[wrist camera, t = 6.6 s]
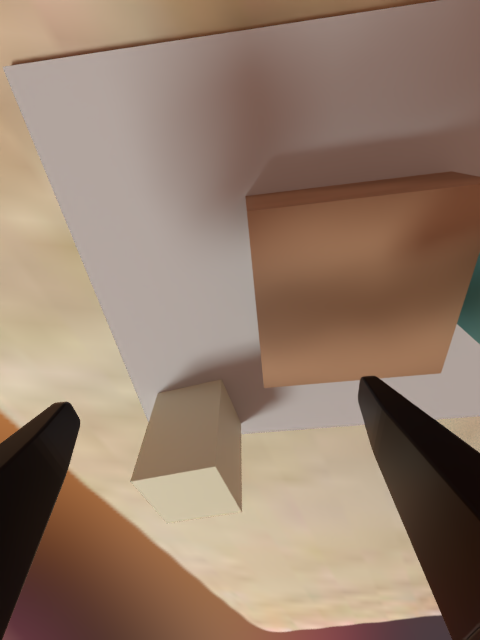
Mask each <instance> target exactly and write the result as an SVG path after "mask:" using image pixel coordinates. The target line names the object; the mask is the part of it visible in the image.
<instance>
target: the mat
mask: <svg viewBox="0 0 480 640" xmlns="http://www.w3.org/2000/svg"><path fill="white" fill-rule="evenodd" d="M3 69H4V72H5V74H6V77H7V79H8V82H9V84H10V87H11V89H12V91H13V94H14V96H15V99H16V101H17V104H18V106H19V108H20V111H21V113H22V116H23V118H24V121H25V123H26V125H27V128H28V130H29V133H30V135H31V138H32V140H33V142H34V145H35V147H36V150H37V152H38V155H39V157H40V160H41V162H42V164H43V167H44V169H45V172H46V174H47V177H48V179H49V181H50V184H51V186H52V189H53V191H54V194H55V196H56V198H57V201H58V203H59V206H60V208H61V211H62V213H63V216H64V218H65V220H66V223H67V225H68V228H69V230H70V233H71V235H72V237H73V240H74V242H75V245H76V247H77V250H78V252H79V254H80V257H81V259H82V262H83V264H84V267H85V269H86V271H87V274H88V276H89V279H90V281H91V284H92V286H93V289H94V291H95V293H96V296H97V298H98V301H99V303H100V306H101V308H102V310H103V313H104V315H105V318H106V320H107V323H108V325H109V327H110V330H111V332H112V335H113V337H114V340H115V342H116V345H117V347H118V349H119V352H120V354H121V357H122V359H123V362H124V364H125V366H126V369H127V371H128V374H129V376H130V379H131V381H132V383H133V386H134V388H135V391H136V393H137V396H138V398H139V401H140V403H141V405H142V408H143V410H144V413H145V415H146V418H147V420H148V422H149V420H150V416H151V413H152V410H153V407H154V403H155V400H156V397H157V394H158V393H162V392H166V391H171V390H175V389H180V388H184V387H189V386H193V385H198V384H202V383H207V382H211V381H216V380H220V379H222V381H223V384H224V386H225V388H226V390H227V393H228V395H229V397H230V399H231V402H232V404H233V406H234V409H235V411H236V413H237V415H238V418H239V420H240V422H241V434H248V433H262V432H275V431H288V430H302V429H315V428H328V427H342V426H355V425H365V423H364V420H363V417H362V413H361V410H360V407H359V403H358V390H359V383H360V380H355V381H343V382H331V383H319V384H307V385H295V386H283V387H271V388H264V383H263V373H262V362H261V352H260V342H259V332H258V321H257V311H256V301H255V290H254V280H253V270H252V260H251V249H250V239H249V229H248V219H247V208H246V197H245V196H250V195H259V194H267V193H275V192H283V191H292V190H300V189H308V188H317V187H325V186H333V185H342V184H350V183H358V182H367V181H375V180H383V179H391V178H400V177H408V176H416V175H425V174H433V173H441V172H450V171H453V172H458V173H463V174H468V175H473V176H478V177H480V0H439V1H432V2H426V3H419V4H413V5H406V6H399V7H393V8H386V9H380V10H373V11H367V12H360V13H353V14H347V15H340V16H334V17H327V18H321V19H314V20H307V21H301V22H294V23H288V24H281V25H275V26H268V27H261V28H255V29H248V30H242V31H235V32H229V33H222V34H215V35H209V36H202V37H196V38H189V39H183V40H176V41H169V42H163V43H156V44H150V45H143V46H137V47H130V48H123V49H117V50H110V51H104V52H97V53H91V54H84V55H77V56H71V57H64V58H58V59H51V60H45V61H38V62H31V63H25V64H18V65H12V66H5V67H3ZM379 379H381V380H382V381H384V382H385V383H386V384H388V385H389V386H390V387H392V388H393V389H394V390H396V391H397V392H398V393H400V394H401V395H402V396H404V397H405V398H406V399H408V400H409V401H410V402H412V403H413V404H414V405H416V406H417V407H419V408H420V409H421V410H423V411H424V412H425V413H427V414H428V415H429V416H431V417H432V418H433V419H448V418H462V417H475V416H480V344H479V343H478V342H477V341H475V340H474V339H473V338H472V337H471V336H470V335H469V334H468V333H466V332H465V331H464V330H463V329H462V328H461V327H460V326H459V325H458V324H457V325H456V328H455V331H454V334H453V337H452V340H451V344H450V347H449V350H448V353H447V356H446V359H445V362H444V365H443V369H442V372H441V373H439V374H427V375H415V376H403V377H391V378H379Z"/></svg>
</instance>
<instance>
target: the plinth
mask: <svg viewBox="0 0 480 640" xmlns="http://www.w3.org/2000/svg"><path fill="white" fill-rule="evenodd" d="M245 197H246V208H247V219H248V229H249V239H250V249H251V260H252V270H253V280H254V290H255V301H256V311H257V321H258V332H259V342H260V352H261V362H262V373H263V383H264V388H271V387H283V386H295V385H307V384H319V383H331V382H343V381H355V380H360V379H361V377H363V376H377V377H378V378H391V377H403V376H415V375H427V374H439V373H441V372H442V369H443V365H444V362H445V359H446V356H447V353H448V350H449V347H450V344H451V340H452V337H453V334H454V331H455V328H456V325H457V322H458V319H459V315H460V312H461V309H462V306H463V303H464V300H465V297H466V294H467V290H468V287H469V284H470V281H471V278H472V275H473V272H474V269H475V265H476V262H477V259H478V256H479V253H480V177H478V176H473V175H468V174H463V173H458V172H453V171H450V172H441V173H433V174H425V175H416V176H408V177H400V178H391V179H383V180H375V181H367V182H358V183H350V184H342V185H333V186H325V187H317V188H308V189H300V190H292V191H283V192H275V193H267V194H259V195H250V196H245Z"/></svg>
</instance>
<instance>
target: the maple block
mask: <svg viewBox="0 0 480 640" xmlns="http://www.w3.org/2000/svg"><path fill="white" fill-rule="evenodd" d="M457 324H458V325H459V326H460V327H461V328H462V329H463V330H464V331H465V332H466V333H468V334H469V335H470V336H471V337H472V338H473V339H474V340H475V341H477V342H478V343H479V344H480V253H479V256H478V259H477V262H476V265H475V269H474V272H473V275H472V278H471V281H470V284H469V287H468V290H467V294H466V297H465V300H464V303H463V306H462V309H461V312H460V315H459V319H458V322H457Z"/></svg>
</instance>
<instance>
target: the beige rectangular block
mask: <svg viewBox="0 0 480 640" xmlns="http://www.w3.org/2000/svg"><path fill="white" fill-rule="evenodd" d="M130 482H131V483H132V484H133V485H134V486H135V488H136V489H137V490H138V491H139V492H140V493H141V495H142V496H143V497H144V498H145V499H146V500H147V501H148V503H149V504H150V505H151V506H152V507H153V508H154V509H155V511H156V512H157V513H158V514H159V515H160V516H161V518H162V519H163V520H164V521H165V522H166V523H167V524H168V523H175V522H181V521H188V520H194V519H201V518H207V517H214V516H221V515H227V514H234V513H240V512H242V483H241V422H240V420H239V418H238V415H237V413H236V411H235V409H234V406H233V404H232V402H231V399H230V397H229V395H228V393H227V390H226V388H225V386H224V384H223V381H222V379H220V380H216V381H211V382H207V383H202V384H198V385H193V386H189V387H184V388H180V389H175V390H171V391H166V392H162V393H158V394H157V397H156V400H155V403H154V407H153V410H152V413H151V416H150V420H149V423H148V426H147V429H146V433H145V436H144V439H143V442H142V446H141V449H140V452H139V455H138V459H137V462H136V465H135V468H134V472H133V475H132V478H131V481H130Z"/></svg>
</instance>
